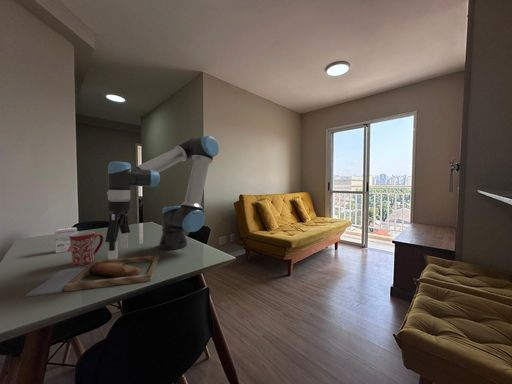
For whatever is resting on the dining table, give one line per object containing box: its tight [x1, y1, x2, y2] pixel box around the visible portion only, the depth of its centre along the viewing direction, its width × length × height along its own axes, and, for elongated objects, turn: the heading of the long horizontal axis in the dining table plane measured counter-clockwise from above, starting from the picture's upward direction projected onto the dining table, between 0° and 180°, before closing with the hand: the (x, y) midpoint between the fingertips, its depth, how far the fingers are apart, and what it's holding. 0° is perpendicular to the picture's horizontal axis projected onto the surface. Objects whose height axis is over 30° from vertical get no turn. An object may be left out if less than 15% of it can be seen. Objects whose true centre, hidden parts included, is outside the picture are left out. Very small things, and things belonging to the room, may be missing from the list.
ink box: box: [54, 227, 78, 254], centre depth 109 cm, size 8×5×12 cm, turn 133°
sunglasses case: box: [89, 263, 142, 278], centre depth 81 cm, size 18×7×7 cm
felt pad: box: [25, 267, 86, 298], centre depth 75 cm, size 9×20×1 cm, turn 18°
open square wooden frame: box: [63, 254, 160, 293], centre depth 83 cm, size 26×23×2 cm
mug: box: [69, 230, 104, 267], centre depth 94 cm, size 13×9×14 cm
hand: (118, 253), depth 82 cm, fingers open, 13 cm apart
